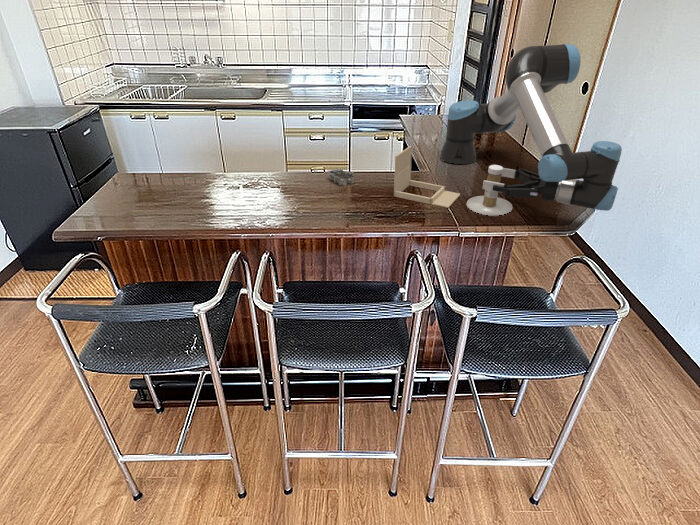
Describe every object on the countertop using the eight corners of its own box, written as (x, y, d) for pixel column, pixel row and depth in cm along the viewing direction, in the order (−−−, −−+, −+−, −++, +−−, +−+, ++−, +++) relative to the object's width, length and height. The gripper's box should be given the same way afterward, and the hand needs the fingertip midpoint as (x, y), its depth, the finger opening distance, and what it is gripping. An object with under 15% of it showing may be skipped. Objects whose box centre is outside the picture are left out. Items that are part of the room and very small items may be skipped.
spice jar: (481, 201, 151) (487, 164, 143) (494, 201, 150) (501, 164, 143) (484, 207, 147) (490, 169, 139) (498, 207, 147) (505, 169, 139)
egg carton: (356, 183, 170) (356, 173, 167) (340, 187, 166) (339, 177, 164) (343, 174, 177) (342, 165, 175) (326, 178, 174) (326, 168, 172)
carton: (460, 194, 158) (465, 154, 149) (448, 208, 149) (452, 165, 140) (408, 184, 167) (410, 145, 159) (393, 196, 158) (395, 155, 150)
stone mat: (487, 193, 158) (487, 192, 157) (521, 208, 147) (522, 206, 147) (457, 204, 151) (457, 202, 150) (491, 220, 140) (491, 218, 140)
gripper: (547, 216, 127) (476, 202, 137) (562, 186, 145) (498, 175, 155) (553, 192, 123) (479, 179, 133) (567, 165, 141) (501, 155, 151)
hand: (489, 177), depth 144 cm, fingers open, 13 cm apart
